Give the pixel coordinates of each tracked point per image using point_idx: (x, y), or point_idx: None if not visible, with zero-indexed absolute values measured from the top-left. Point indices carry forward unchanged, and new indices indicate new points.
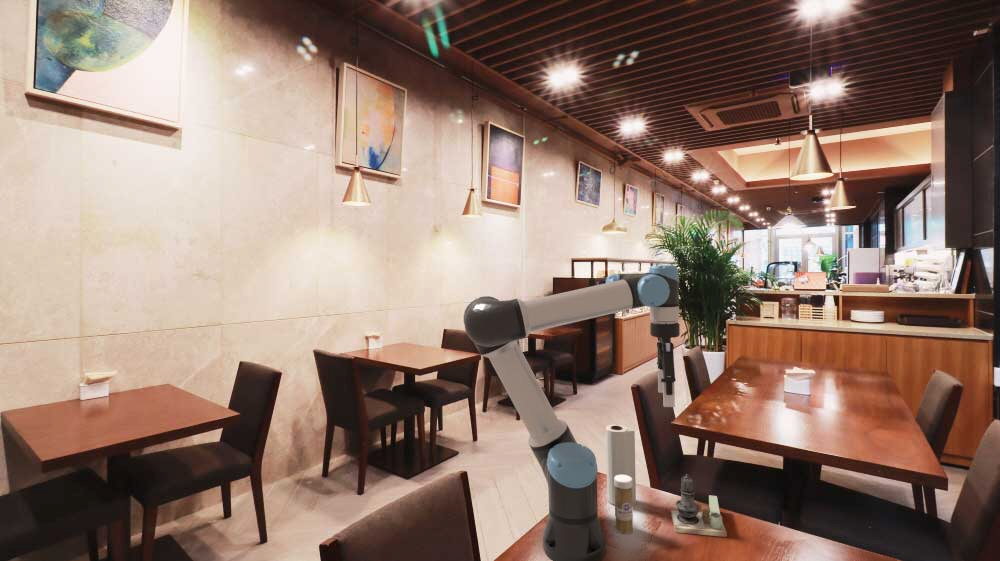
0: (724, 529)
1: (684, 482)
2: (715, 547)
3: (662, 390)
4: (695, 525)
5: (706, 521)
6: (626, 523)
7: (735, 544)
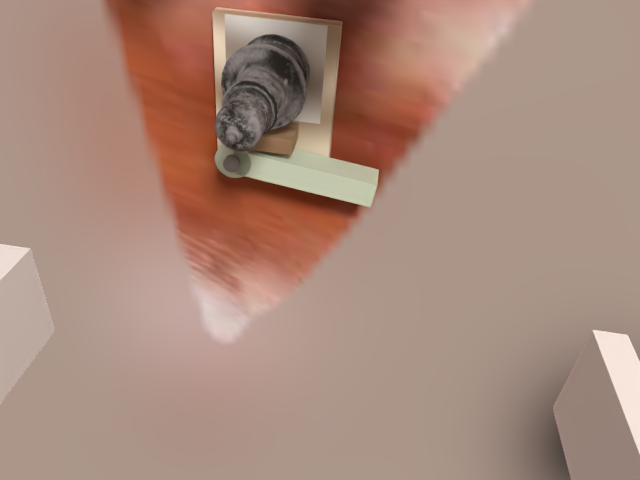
0: None
1: (218, 112)
2: (161, 110)
3: (584, 385)
4: None
5: None
6: None
7: (191, 167)
